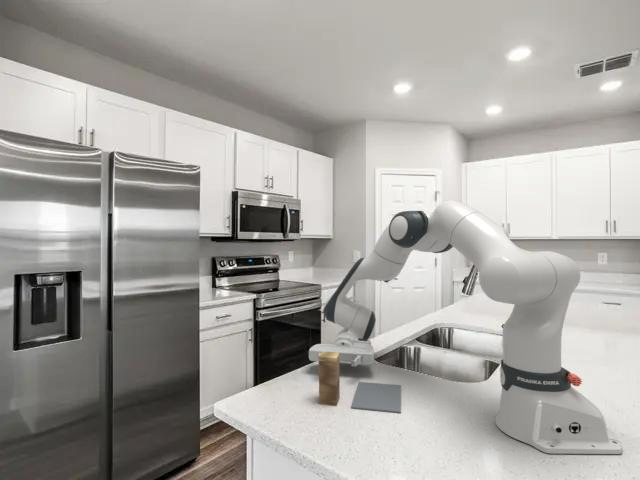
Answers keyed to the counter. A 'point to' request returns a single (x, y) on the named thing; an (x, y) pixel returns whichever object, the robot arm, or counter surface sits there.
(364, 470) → the counter surface
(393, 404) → the mat
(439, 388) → the counter surface
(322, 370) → the block
